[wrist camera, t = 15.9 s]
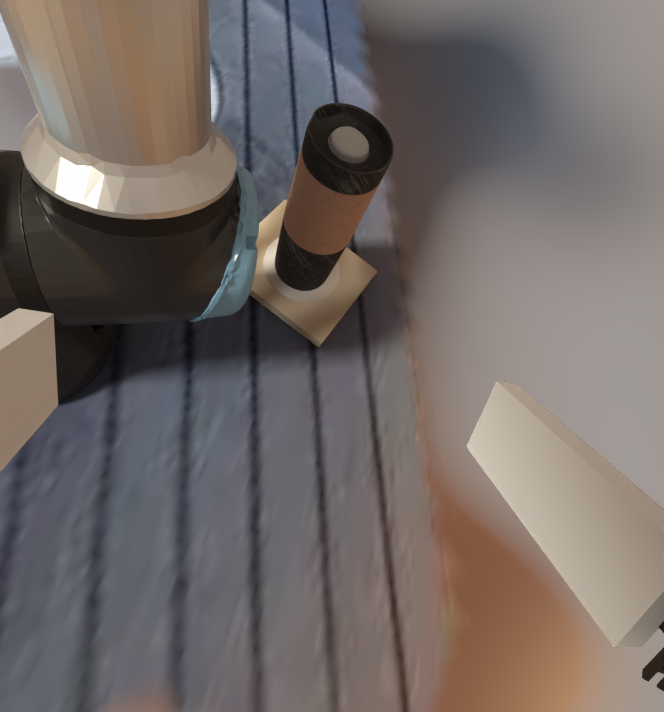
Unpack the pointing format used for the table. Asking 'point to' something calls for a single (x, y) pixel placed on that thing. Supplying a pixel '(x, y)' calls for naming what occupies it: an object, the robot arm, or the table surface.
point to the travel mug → (330, 191)
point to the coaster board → (306, 308)
